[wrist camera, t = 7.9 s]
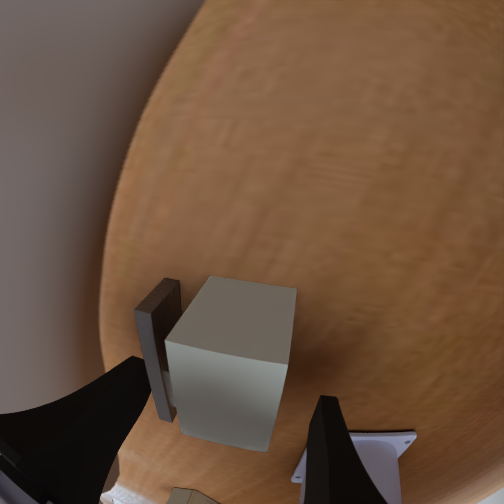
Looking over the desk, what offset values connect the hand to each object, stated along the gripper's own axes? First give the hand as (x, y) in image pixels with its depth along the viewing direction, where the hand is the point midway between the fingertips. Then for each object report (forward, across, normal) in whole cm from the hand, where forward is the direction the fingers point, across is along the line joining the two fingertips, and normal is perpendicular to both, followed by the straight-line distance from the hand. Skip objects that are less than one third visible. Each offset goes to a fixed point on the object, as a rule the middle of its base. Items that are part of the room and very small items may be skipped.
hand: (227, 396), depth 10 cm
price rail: (+4, +4, +1) cm, 6 cm away
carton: (+4, 0, 0) cm, 4 cm away
